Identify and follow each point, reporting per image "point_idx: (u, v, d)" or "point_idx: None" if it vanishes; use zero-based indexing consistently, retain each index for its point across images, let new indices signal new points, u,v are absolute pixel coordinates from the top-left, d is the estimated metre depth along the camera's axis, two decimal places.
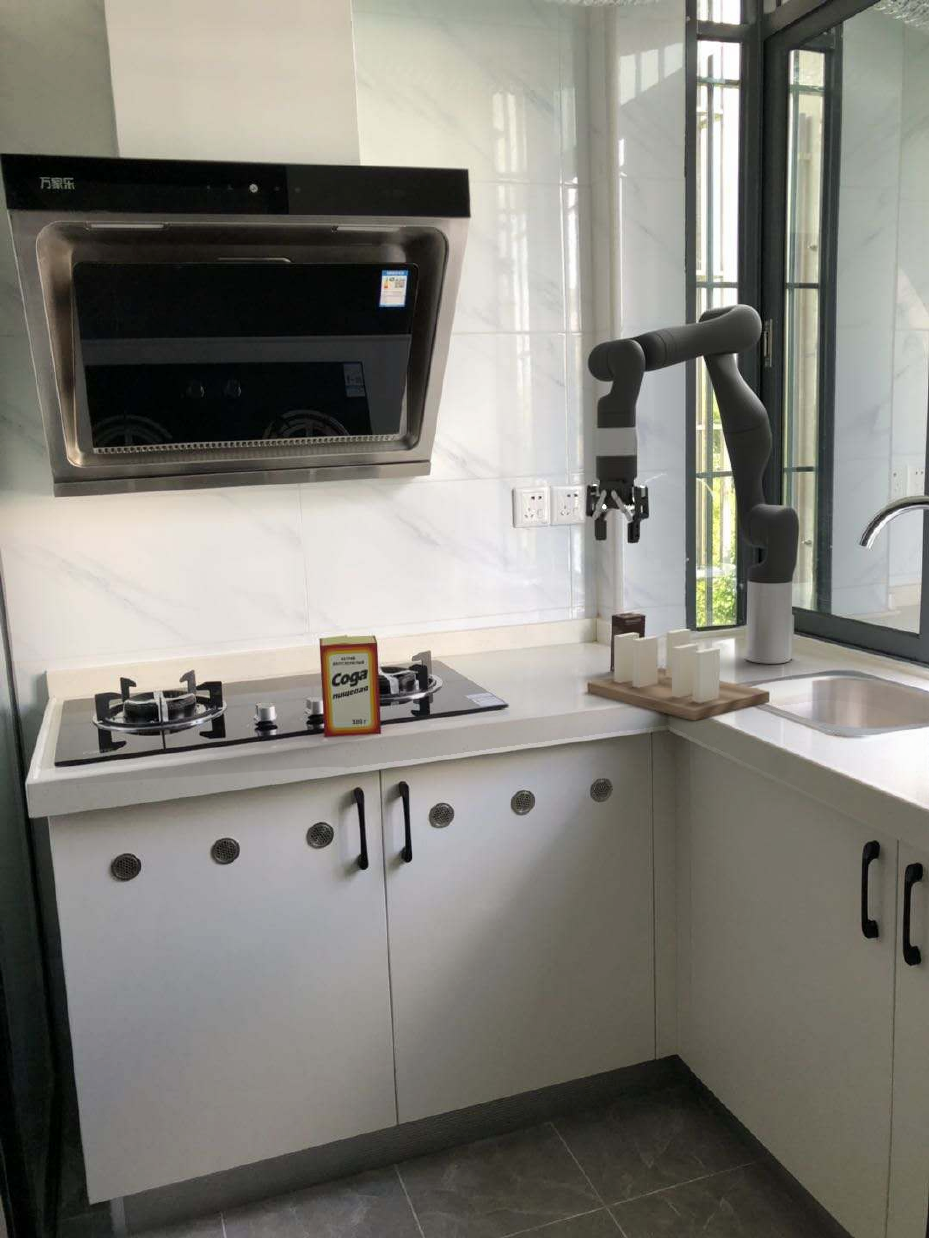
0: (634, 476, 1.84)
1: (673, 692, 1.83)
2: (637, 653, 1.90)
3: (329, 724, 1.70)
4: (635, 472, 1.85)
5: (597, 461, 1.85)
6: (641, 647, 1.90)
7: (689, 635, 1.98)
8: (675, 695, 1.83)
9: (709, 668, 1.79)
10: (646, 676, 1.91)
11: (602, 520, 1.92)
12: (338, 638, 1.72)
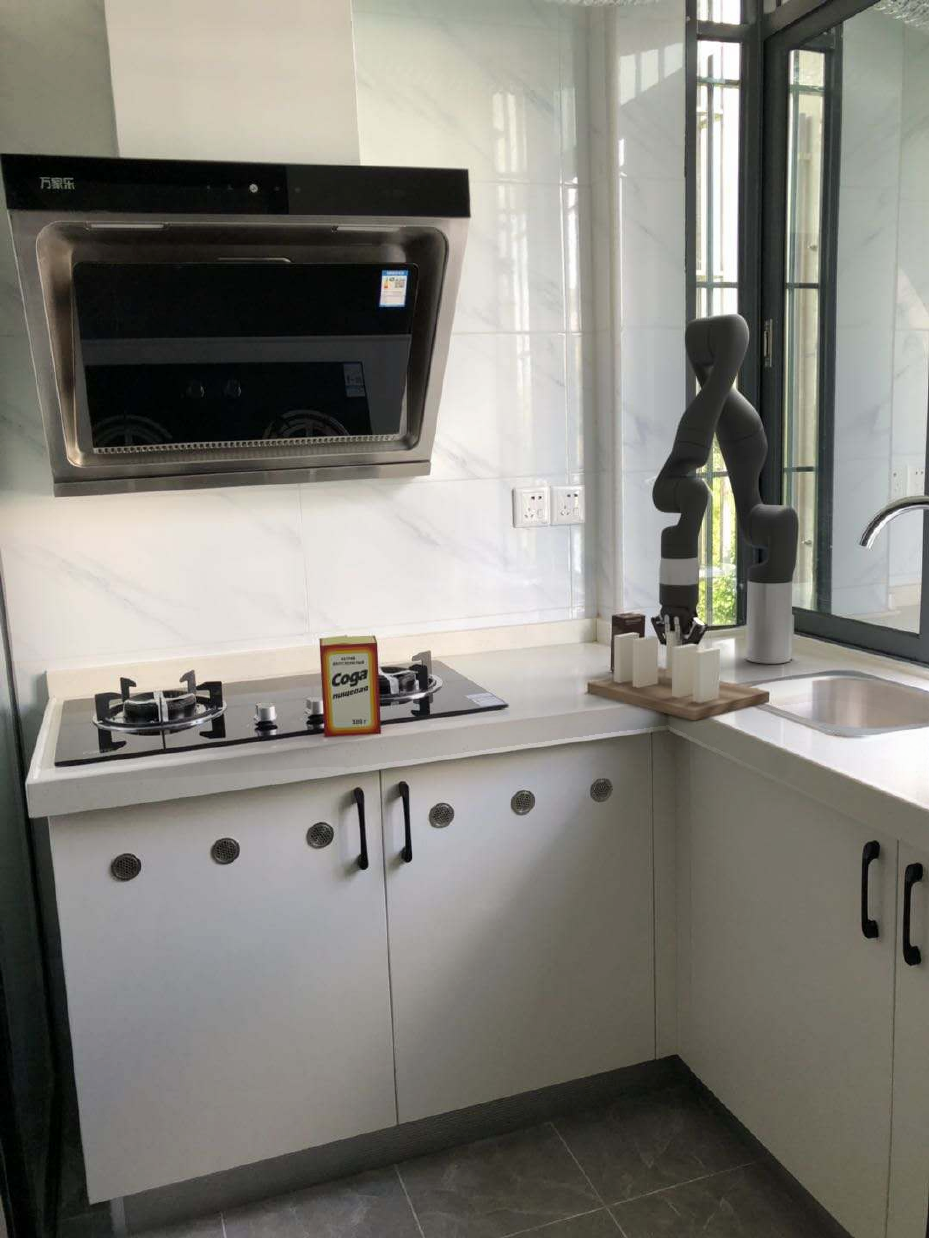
0: (696, 603, 1.94)
1: (673, 692, 1.83)
2: (637, 653, 1.90)
3: (329, 724, 1.70)
4: (697, 599, 1.94)
5: (661, 588, 1.95)
6: (641, 647, 1.90)
7: None
8: (675, 695, 1.83)
9: (709, 668, 1.79)
10: (646, 676, 1.91)
11: None
12: (338, 638, 1.72)
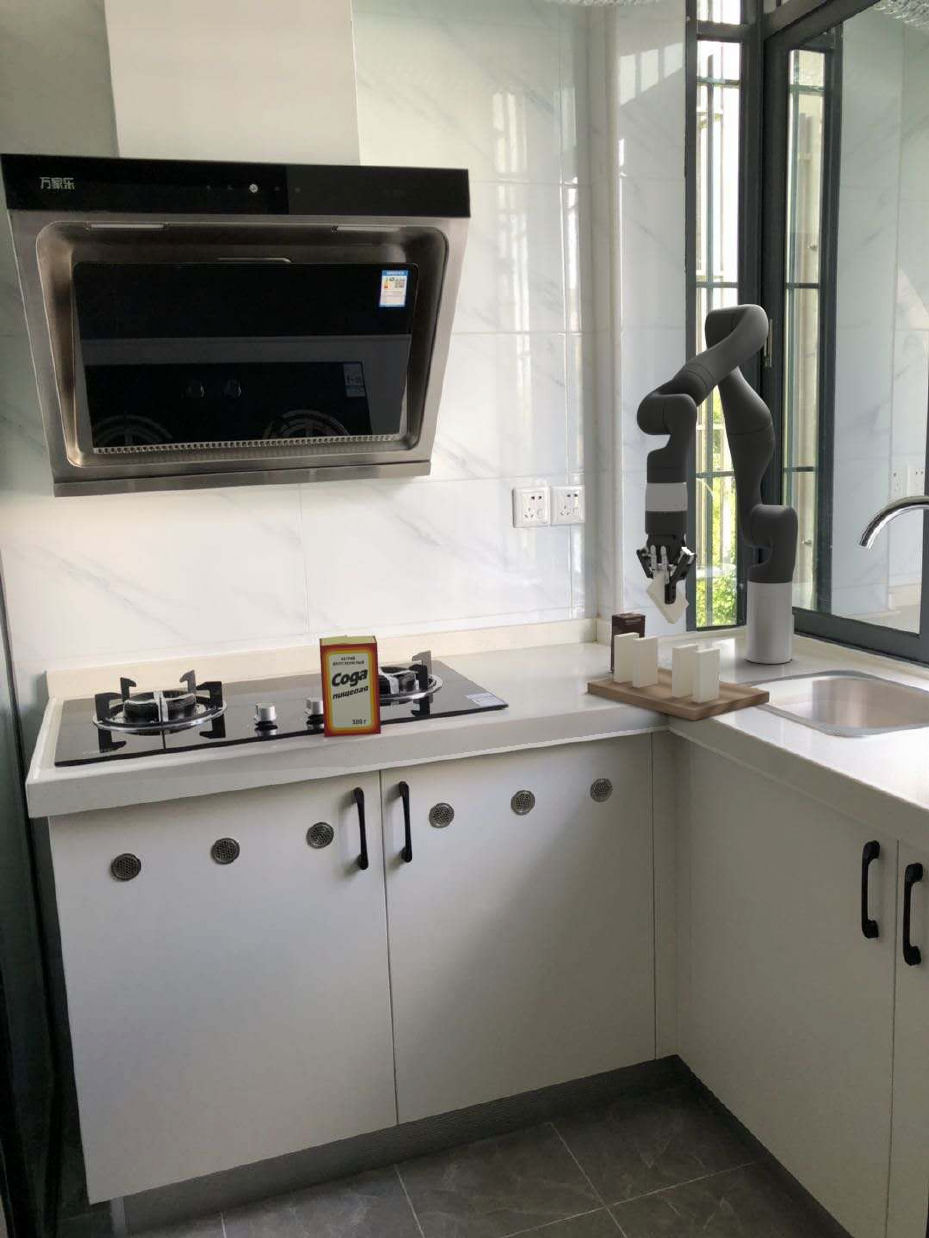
0: (684, 532, 1.81)
1: (673, 692, 1.83)
2: (637, 653, 1.90)
3: (329, 724, 1.70)
4: (685, 527, 1.81)
5: (646, 516, 1.82)
6: (641, 647, 1.90)
7: None
8: (675, 695, 1.83)
9: (709, 668, 1.79)
10: (646, 676, 1.91)
11: None
12: (338, 638, 1.72)
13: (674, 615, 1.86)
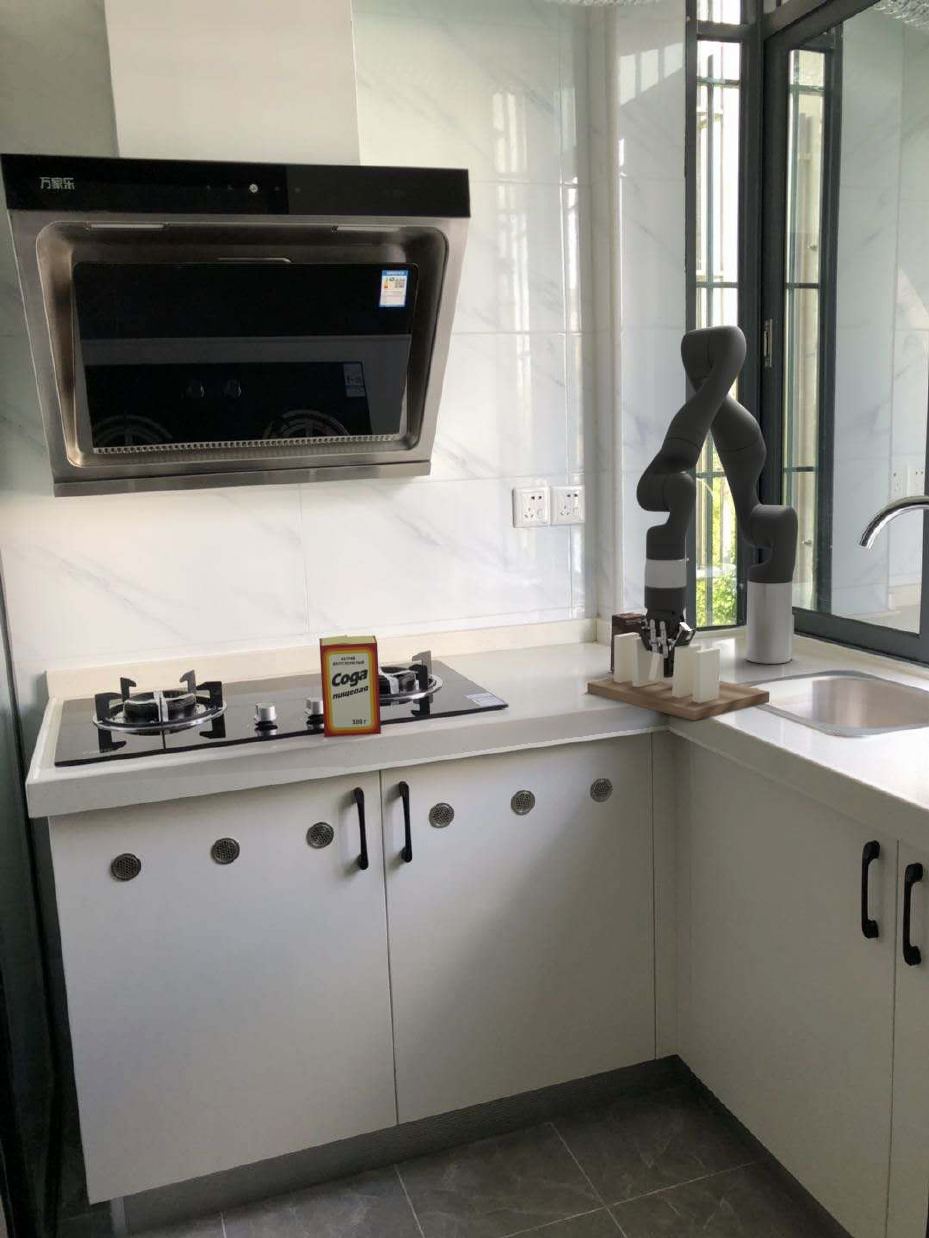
0: (683, 607, 1.83)
1: (673, 692, 1.83)
2: (635, 652, 1.90)
3: (329, 724, 1.70)
4: (684, 603, 1.84)
5: (646, 591, 1.84)
6: (639, 646, 1.90)
7: (663, 656, 1.86)
8: (675, 695, 1.83)
9: (709, 668, 1.79)
10: (645, 676, 1.91)
11: None
12: (338, 638, 1.72)
13: None
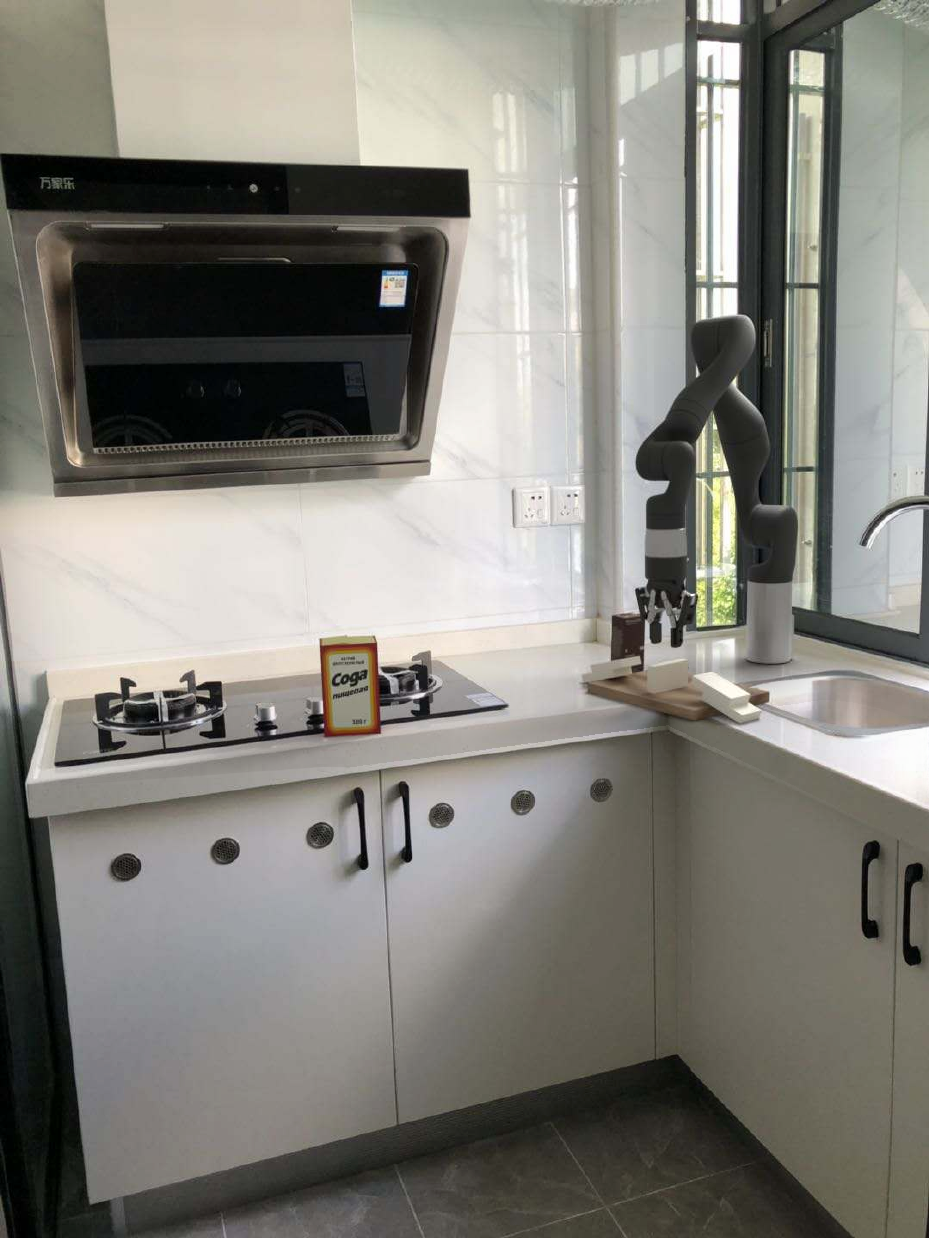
0: (684, 577, 1.82)
1: (695, 679, 1.79)
2: (598, 665, 1.99)
3: (329, 724, 1.70)
4: (685, 572, 1.83)
5: (646, 561, 1.83)
6: None
7: (658, 667, 1.86)
8: (692, 680, 1.79)
9: None
10: None
11: (657, 623, 1.88)
12: (338, 638, 1.72)
13: (683, 681, 1.90)
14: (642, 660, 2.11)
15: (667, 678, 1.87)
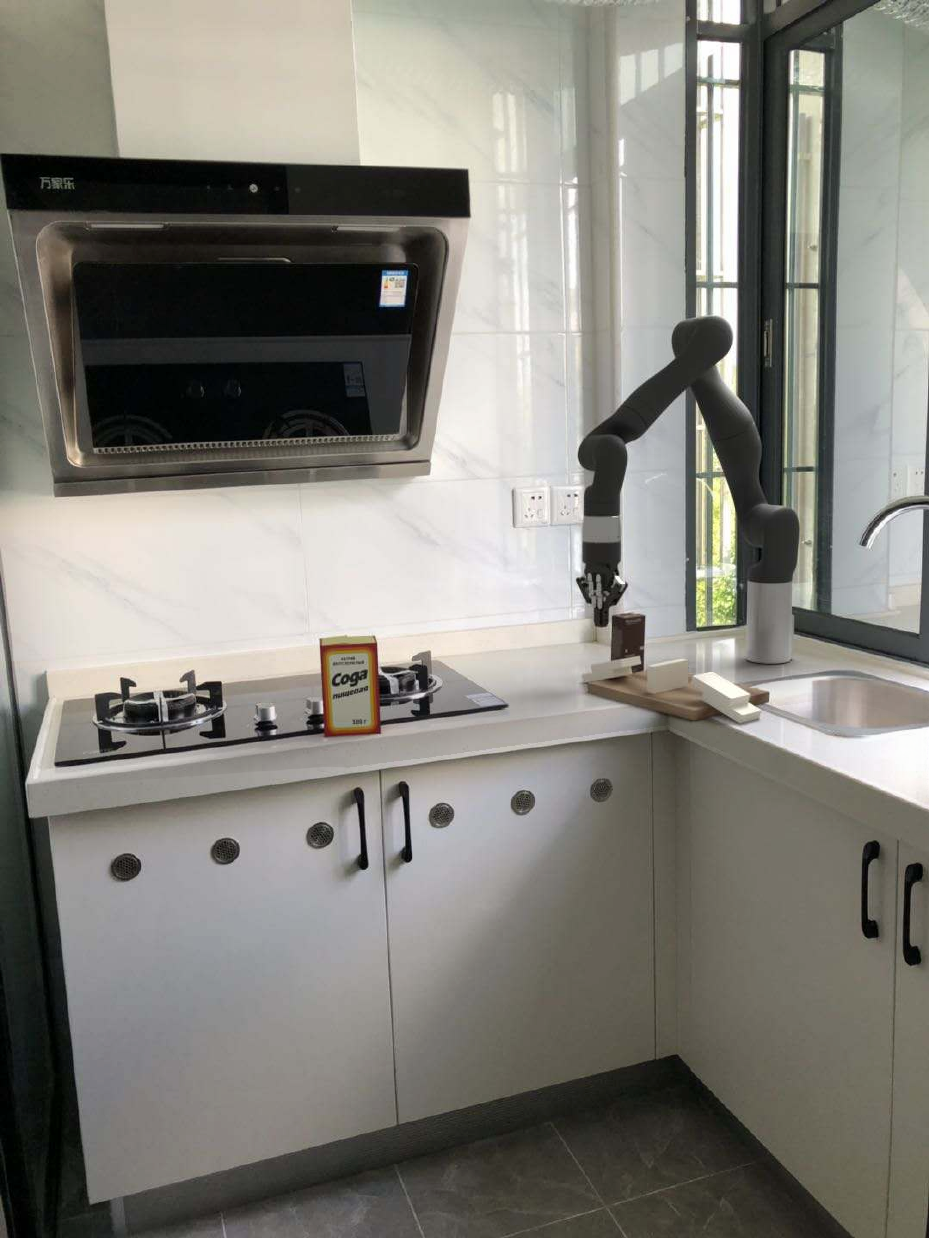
0: (618, 561, 1.96)
1: (695, 679, 1.79)
2: (598, 665, 1.99)
3: (329, 724, 1.70)
4: (619, 557, 1.96)
5: (583, 546, 1.97)
6: None
7: (658, 667, 1.86)
8: (692, 680, 1.79)
9: None
10: None
11: None
12: (338, 638, 1.72)
13: (683, 681, 1.90)
14: (642, 660, 2.11)
15: (667, 678, 1.87)
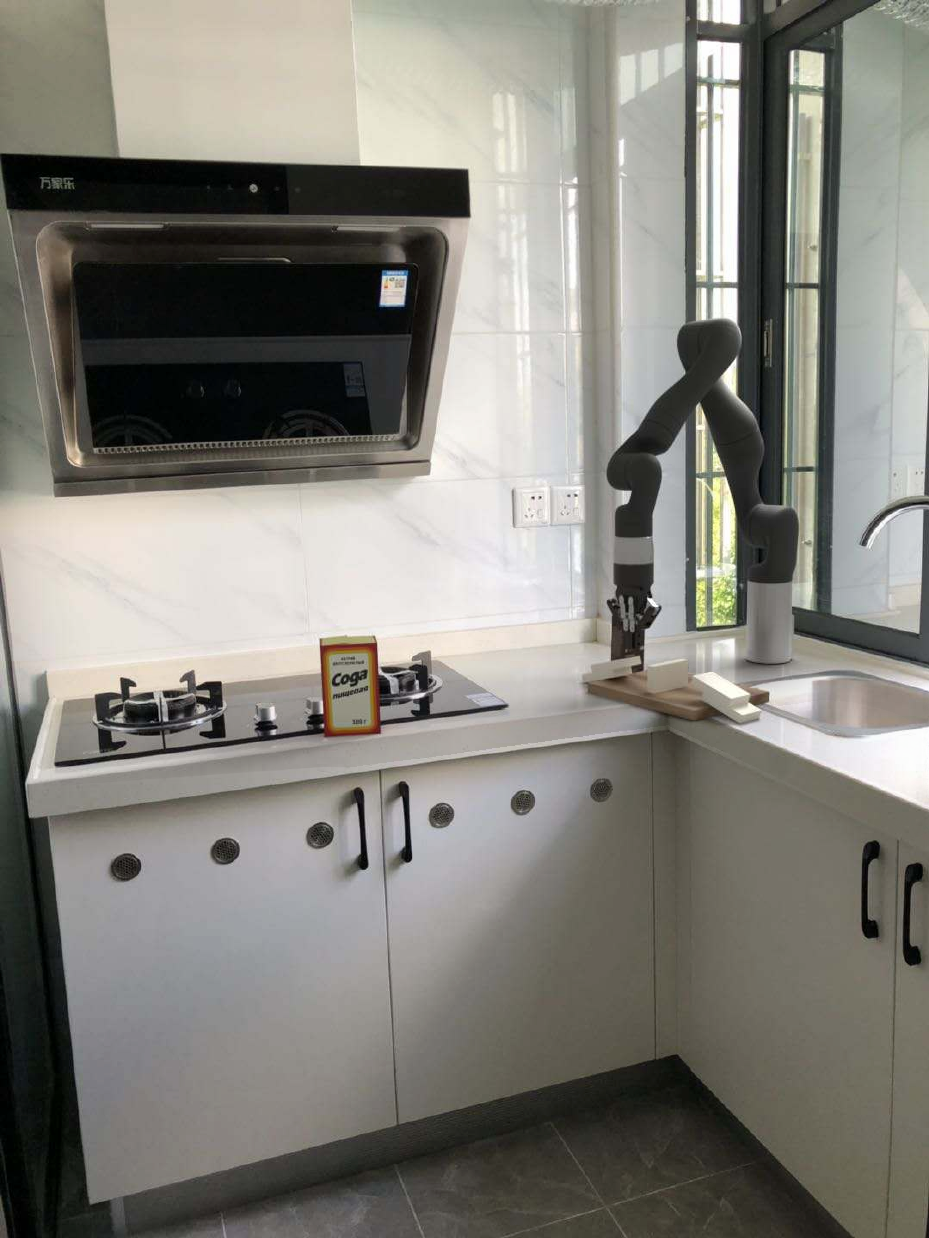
0: (651, 583, 1.89)
1: (695, 679, 1.79)
2: (598, 665, 1.99)
3: (329, 724, 1.70)
4: (652, 579, 1.90)
5: (615, 568, 1.90)
6: None
7: (658, 667, 1.86)
8: (692, 680, 1.79)
9: None
10: None
11: None
12: (338, 638, 1.72)
13: (683, 681, 1.90)
14: (642, 660, 2.11)
15: (667, 678, 1.87)
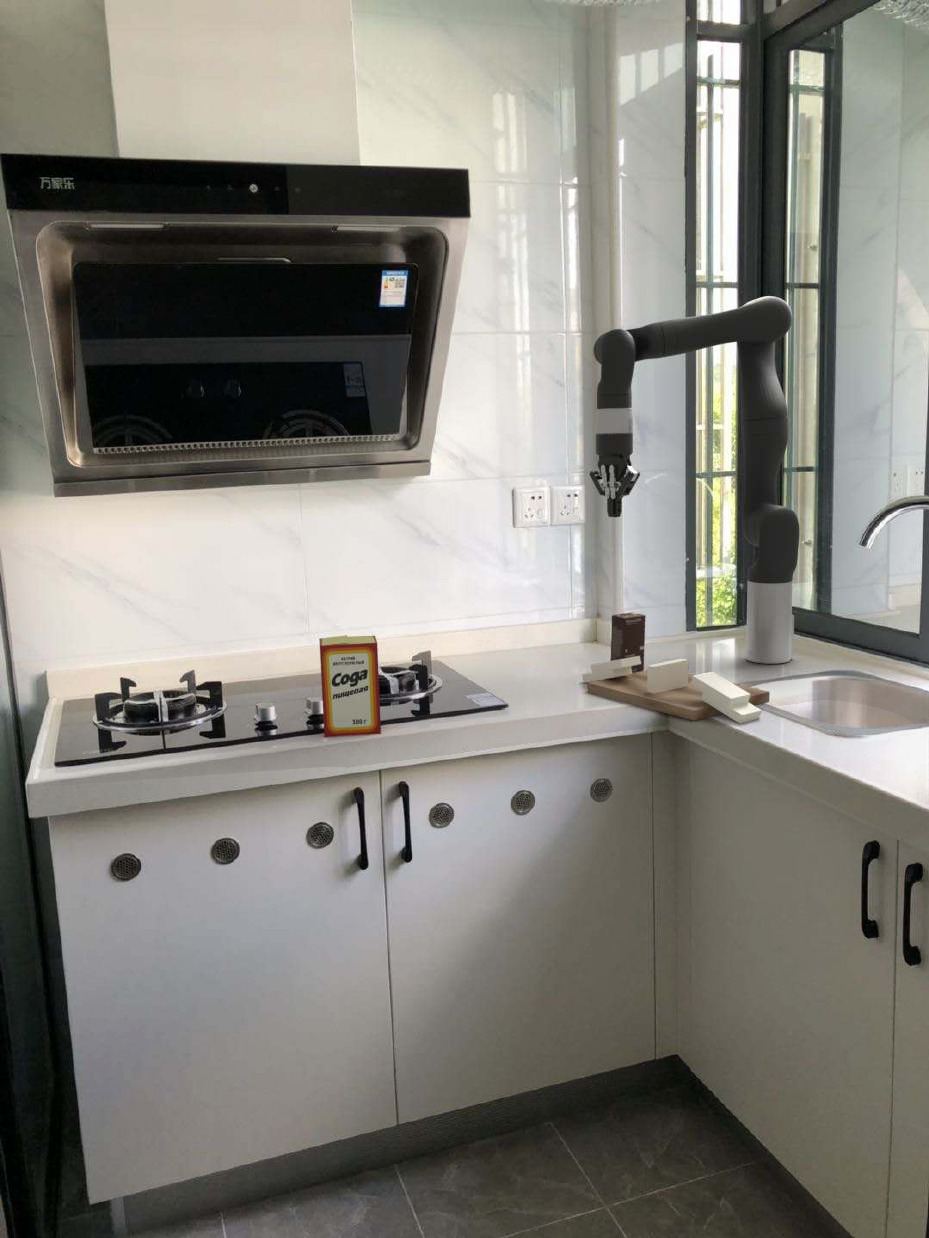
0: (630, 452, 2.05)
1: (695, 679, 1.79)
2: (598, 665, 1.99)
3: (329, 724, 1.70)
4: (631, 448, 2.05)
5: (597, 438, 2.06)
6: None
7: (658, 667, 1.86)
8: (692, 680, 1.79)
9: None
10: None
11: None
12: (338, 638, 1.72)
13: (683, 681, 1.90)
14: (642, 660, 2.11)
15: (667, 678, 1.87)
